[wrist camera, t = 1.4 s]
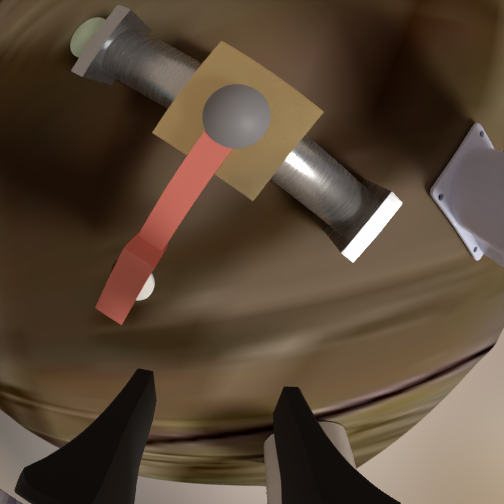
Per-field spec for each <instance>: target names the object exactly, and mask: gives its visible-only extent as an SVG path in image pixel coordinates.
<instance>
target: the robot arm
mask: <svg viewBox="0 0 504 504" xmlns="http://www.w3.org/2000/svg"><path fill="white" fill-rule="evenodd" d="M480 133H481V135H480ZM430 195H431V197H432V198H433V199H434V201H435V202H436V203H437V205H438V206H439V207H440V209H441V210H442V211H443V213H444V214H445V216H446V217H447V218H448V220H449V221H450V223H451V224H452V226H453V227H454V229H455V230H456V231H457V233H458V234H459V236H460V237H461V239H462V241H463V242H464V244H465V245H466V247H467V248H468V250H469V252H470V253H471V255H472V257H473V258H474V259H475V260H477V261H478V260H479V259H480V258H481V257H482V255H483V254H485V255H487V256H488V257H489V258H491V259H492V260H494V261H495V262H496V263H498V264H499V265H501V266H502V267H503V268H504V151H501V150H496V149H494V147H493V145H492V143H491V142H490V140H489V138H488V136H487V135H486V133H485V131H484V130H483V128H482V126H481V125H480V124H479V123H474V124H473V126H472V127H471V129H470V131H469V132H468V134H467V136H466V137H465V139H464V140H463V142H462V143H461V145H460V147H459V148H458V150H457V151H456V153H455V154H454V156H453V157H452V159H451V160H450V162H449V163H448V165H447V166H446V168H445V169H444V171H443V172H442V173H441V175H440V176H439V178H438V179H437V180H436V182H435V183H434V185H433V186H432V187H431V189H430ZM439 195H440V198H439V199H438V196H439ZM155 405H156V392H155V384H154V375H153V371H149V370H144V369H137V370H136V372H135V373H134V375H133V376H132V377H131V379H130V380H129V382H128V383H127V384H126V386H125V387H124V388H123V389H122V391H121V392H120V393H119V394H118V396H117V397H116V398H115V399H114V400H113V402H112V403H111V404H110V405H109V406H108V407H107V408H106V409H105V411H104V412H103V413H102V414H101V415H100V416H99V417H98V418H97V419H96V420H95V421H94V422H93V423H92V424H91V425H90V426H89V427H87V428H86V429H85V430H84V431H83V432H82V433H81V434H79V435H78V436H77V437H75V438H74V439H73V440H72V441H70V442H69V443H68V444H66V445H65V446H63V447H62V448H60V449H59V450H57V451H55V452H54V453H52V454H51V455H49V456H47V457H45V458H44V459H42V460H39V461H37V462H35V463H33V464H31V465H29V466H27V467H25V468H24V469H23V471H22V473H21V474H20V477H19V479H18V482H17V484H16V487H15V490H14V491H15V493H16V494H18V495H19V496H21V497H22V498H24V499H25V500H27V501H28V502H30V503H31V504H134V501H135V492H136V484H137V478H138V471H139V466H140V462H141V458H142V455H143V451H144V448H145V445H146V441H147V438H148V435H149V431H150V428H151V425H152V421H153V416H154V411H155ZM273 425H274V439H275V446H276V452H277V458H278V465H279V471H280V479H281V499H282V504H401V503H400V502H398V501H397V500H395V499H393V498H392V497H390V496H389V495H387V494H385V493H384V492H382V491H381V490H380V489H378V488H377V487H375V486H374V485H373V484H372V483H370V482H369V481H368V480H367V479H366V478H365V477H363V476H362V475H361V474H360V473H359V472H358V471H357V470H356V469H355V468H354V467H353V466H352V465H351V464H350V463H349V462H348V461H347V460H346V459H345V458H344V457H343V455H342V454H341V453H340V452H339V451H338V449H337V448H336V447H335V446H334V444H333V443H332V442H331V440H330V439H329V438H328V436H327V435H326V433H325V432H324V430H323V429H322V427H321V426H320V424H319V423H318V421H317V419H316V418H315V416H314V414H313V413H312V411H311V409H310V407H309V406H308V404H307V402H306V400H305V398H304V396H303V394H302V392H301V390H300V389H299V388H298V387H284V388H283V390H282V393H281V395H280V398H279V400H278V403H277V405H276V408H275V410H274V413H273ZM0 504H22V503H21V502H19V501H17V500H16V499H15V498H13V497H12V496H10V495H8V494H7V493H5V492H4V491H3V490H1V489H0Z"/></svg>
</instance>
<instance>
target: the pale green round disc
mask: <svg viewBox="0 0 504 504" xmlns="http://www.w3.org/2000/svg"><path fill="white" fill-rule="evenodd" d="M104 22H105V19H103V18H99V17H97V18H92V19H89V20H87V21H86V22H84V23H83V24H81V25H80V26H79V27H78V29H77V30H76V31H75V33H74V34H73V36H72V39H71V43H70V49H71V52H72V53H73V55H74V56H76V57H80V56H81V54H82V53H83V51H84V50H85V48H86V47H87V45H88V44H89V42H90V40H91V38H92V37H93V36H94V34H95V33H96V32H97V31H98V30H99V28H100V27H101V26H102V24H103V23H104Z"/></svg>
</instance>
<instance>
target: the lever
mask: <svg viewBox="0 0 504 504" xmlns="http://www.w3.org/2000/svg"><path fill="white" fill-rule="evenodd" d="M270 117H271V114H270V108H269V105H268V103H267V101H266V99H265V98H264V96H263V95H262V94H261V93H260V92H258V91H257V90H256V89H254V88H252V87H250V86H246V85H242V84H232V85H227V86H224V87H222V88H220V89H218V90H217V91H215V92H214V93H213V94H212V95H211V96H210V97H209V98H208V100H207V101H206V103H205V106H204V109H203V114H202V119H203V125H204V128H205V131H204V133H203V134H202V135H201V137H200V138H199V140H198V141H197V142H196V144H195V145H194V147H193V148H192V150H191V151H190V153H189V154H188V155H187V157H186V158H185V160H184V161H183V163H182V164H181V166H180V167H179V169H178V170H177V172H176V173H175V175H174V177H173V178H172V180H171V181H170V183H169V184H168V186H167V188H166V189H165V191H164V192H163V194H162V196H161V197H160V199H159V200H158V202H157V204H156V205H155V207H154V209H153V210H152V212H151V214H150V216H149V217H148V219H147V221H146V222H145V224H144V226H143V228H142V229H141V230H140V231H139V232H138V233H137V234H136V235H135V236H134V238H133V239H132V240H131V241H130V242H129V243H128V244H127V245H126V246H125V247H124V249H123V251H122V253H121V254H120V256H119V258H118V260H117V262H116V264H115V267H114V269H113V271H112V273H111V275H110V277H109V279H108V281H107V283H106V285H105V288H104V290H103V292H102V294H101V296H100V299H99V301H98V303H97V305H96V309H98V310H99V311H101V312H102V313H104V314H105V315H107V316H108V317H110V318H111V319H113V320H114V321H116V322H118V323H119V324H121V325H122V323H123V322H124V320H125V318H126V316H127V314H128V313H129V311H130V309H131V307H132V306H133V304H134V302H135V300H136V299H137V297H138V295H139V293H140V292H141V290H142V288H143V287H144V285H145V283H146V281H147V280H148V278H149V276H150V275H151V273H152V271H153V270H154V268H155V267H156V265H157V263H158V262H159V260H160V258H161V257H162V255H163V253H164V252H165V250H166V248H167V247H168V244H167V243H168V241H169V240H170V238H171V237H172V235H173V234H174V232H175V231H176V229H177V227H178V226H179V224H180V223H181V221H182V220H183V218H184V217H185V215H186V214H187V212H188V211H189V209H190V208H191V206H192V205H193V203H194V202H195V200H196V199H197V197H198V196H199V195H200V193H201V192H202V190H203V189H204V187H205V186H206V184H207V183H208V182H209V180H210V179H211V177H212V176H213V175H214V173H215V172H216V170H217V169H218V168H219V166H220V165H221V163H222V162H223V161H224V159H225V158H226V157H227V155H228V154H229V153H230V151H231V150H232V149H233V148H244V147H248V146H250V145H252V144H254V143H256V142H257V141H258V140H260V139H261V138H262V137H263V136H264V134H265V133H266V131H267V129H268V127H269V124H270Z"/></svg>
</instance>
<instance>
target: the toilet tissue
mask: <svg viewBox="0 0 504 504" xmlns="http://www.w3.org/2000/svg"><path fill="white" fill-rule="evenodd" d="M318 423H319V424H320V426H321V427H322V429H323V430H324V432H325V433H326V435H327V436H328V438H329V439H330V440H331V442H332V443H333V444H334V446H335V447H336V448H337V449H338V451H339V452H340V453H341V454H342V455H343V457H344V458H345V459H346V460H347V461H348V462H349V463H350V464H351V465H352V466H353V467H354V468H355V469H356V466H355V463H354V458H353V455H352V450H351V448H350V445H349V442H348V437H347V434H346V431H345V428H344V427H343V426H341V425H339V424H337V423H333V422H318ZM264 459H265V462H264V464H265V474H266V480H265V482H266V489H267V492H266V493H267V504H282V499H281V479H280V471H279V465H278V458H277V452H276V446H275V439H274V434H272V435H271V436H269V437H268V439H267V440H266V441H265V443H264ZM356 470H357V469H356Z"/></svg>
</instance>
